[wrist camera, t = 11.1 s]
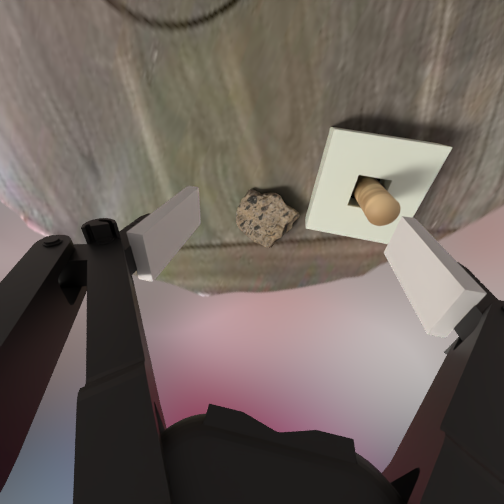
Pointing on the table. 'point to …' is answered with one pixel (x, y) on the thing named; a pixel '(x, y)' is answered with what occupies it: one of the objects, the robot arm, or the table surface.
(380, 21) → the table surface
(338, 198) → the socket block
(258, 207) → the rock
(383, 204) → the dowel
